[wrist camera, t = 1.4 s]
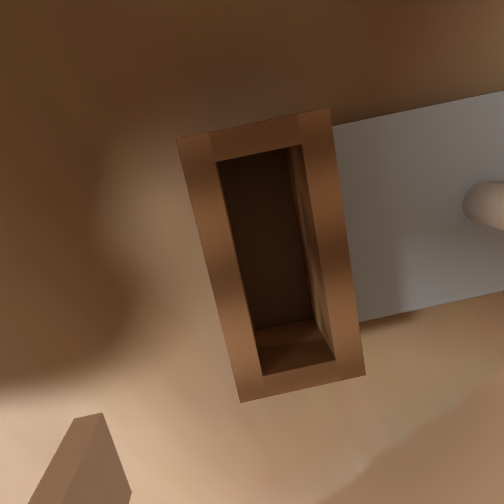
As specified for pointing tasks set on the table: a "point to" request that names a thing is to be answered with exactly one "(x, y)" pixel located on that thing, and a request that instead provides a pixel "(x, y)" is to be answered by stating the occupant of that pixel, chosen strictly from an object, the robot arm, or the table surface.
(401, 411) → the table surface
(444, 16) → the table surface
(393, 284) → the post board
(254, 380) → the hollow block
